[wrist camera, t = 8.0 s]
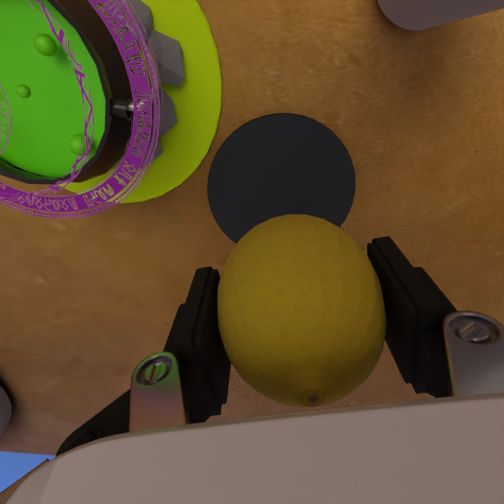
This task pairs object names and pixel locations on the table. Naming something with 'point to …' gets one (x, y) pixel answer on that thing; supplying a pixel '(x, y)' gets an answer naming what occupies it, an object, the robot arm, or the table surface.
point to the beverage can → (434, 11)
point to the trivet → (279, 174)
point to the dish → (4, 411)
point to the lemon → (301, 311)
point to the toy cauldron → (105, 98)
